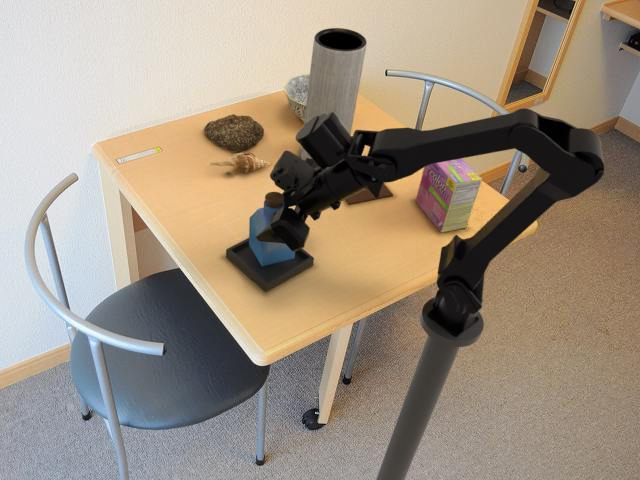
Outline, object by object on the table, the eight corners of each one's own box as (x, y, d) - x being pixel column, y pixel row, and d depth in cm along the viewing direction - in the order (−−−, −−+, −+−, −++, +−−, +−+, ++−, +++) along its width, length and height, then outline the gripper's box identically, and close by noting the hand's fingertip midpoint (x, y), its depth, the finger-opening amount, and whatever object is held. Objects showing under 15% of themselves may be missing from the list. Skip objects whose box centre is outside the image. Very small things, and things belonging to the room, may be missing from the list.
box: (414, 201, 133) (427, 152, 125) (438, 196, 134) (453, 148, 126) (440, 233, 126) (456, 184, 118) (465, 228, 127) (483, 179, 119)
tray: (313, 265, 118) (314, 257, 117) (265, 292, 113) (266, 284, 112) (272, 233, 124) (273, 225, 123) (225, 257, 119) (226, 249, 118)
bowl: (272, 104, 159) (275, 76, 154) (334, 97, 162) (338, 69, 157) (294, 140, 148) (297, 110, 143) (359, 132, 151) (364, 103, 146)
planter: (292, 150, 145) (305, 31, 126) (331, 141, 148) (350, 24, 129) (313, 175, 138) (330, 54, 120) (354, 165, 141) (377, 46, 123)
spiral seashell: (256, 156, 143) (257, 138, 140) (271, 167, 140) (272, 149, 137) (205, 177, 137) (205, 159, 134) (219, 189, 134) (219, 170, 131)
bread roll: (230, 158, 142) (231, 138, 138) (196, 132, 149) (196, 113, 145) (275, 138, 148) (276, 119, 145) (240, 115, 155) (241, 96, 151)
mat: (392, 196, 134) (393, 194, 134) (348, 205, 131) (349, 203, 131) (370, 168, 141) (370, 167, 141) (327, 176, 138) (328, 175, 138)
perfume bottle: (280, 236, 120) (284, 183, 111) (294, 258, 115) (299, 204, 107) (248, 244, 118) (250, 190, 110) (262, 266, 114) (264, 212, 106)
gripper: (318, 115, 107) (251, 159, 117) (288, 179, 94) (215, 222, 104) (359, 165, 110) (290, 203, 120) (335, 233, 97) (261, 269, 107)
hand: (265, 222), depth 113 cm, fingers closed on perfume bottle, 9 cm apart
